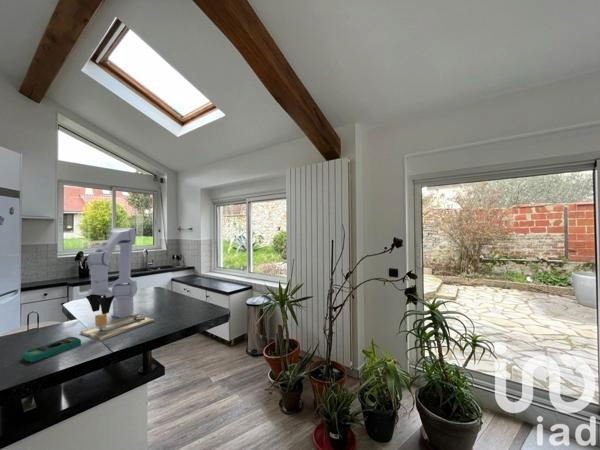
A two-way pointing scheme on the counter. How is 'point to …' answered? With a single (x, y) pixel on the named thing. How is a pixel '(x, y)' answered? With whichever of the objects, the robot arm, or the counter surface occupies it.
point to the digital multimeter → (51, 349)
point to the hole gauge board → (118, 327)
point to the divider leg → (101, 322)
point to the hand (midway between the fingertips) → (100, 312)
